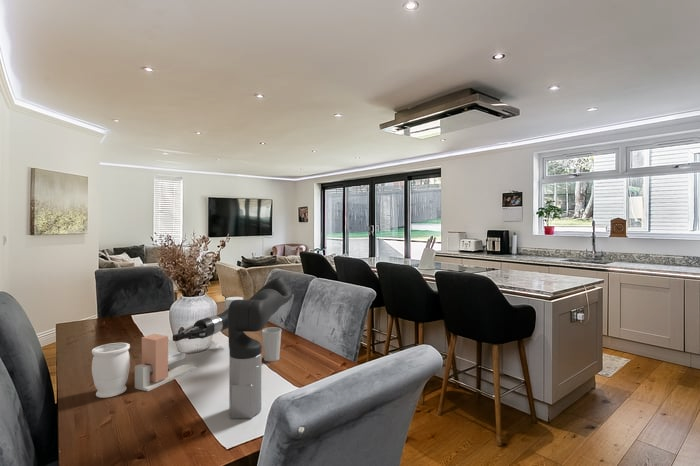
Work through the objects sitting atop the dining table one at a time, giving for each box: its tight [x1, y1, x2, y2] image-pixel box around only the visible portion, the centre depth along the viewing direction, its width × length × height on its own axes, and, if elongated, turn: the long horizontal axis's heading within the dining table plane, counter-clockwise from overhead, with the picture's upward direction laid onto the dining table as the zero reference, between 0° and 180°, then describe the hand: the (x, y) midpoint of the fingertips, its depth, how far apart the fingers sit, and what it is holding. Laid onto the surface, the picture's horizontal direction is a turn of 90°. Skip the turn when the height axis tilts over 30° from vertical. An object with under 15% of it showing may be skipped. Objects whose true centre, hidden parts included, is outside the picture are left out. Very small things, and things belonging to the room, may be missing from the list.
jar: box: [91, 342, 131, 399], centre depth 121 cm, size 11×10×15 cm
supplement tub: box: [224, 296, 244, 311], centre depth 204 cm, size 10×10×15 cm
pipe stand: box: [134, 351, 197, 392], centre depth 133 cm, size 21×6×8 cm, turn 158°
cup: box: [261, 326, 282, 362], centre depth 153 cm, size 8×8×12 cm
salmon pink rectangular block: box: [141, 333, 169, 382], centre depth 129 cm, size 5×7×14 cm
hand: (174, 338), depth 137 cm, fingers closed
